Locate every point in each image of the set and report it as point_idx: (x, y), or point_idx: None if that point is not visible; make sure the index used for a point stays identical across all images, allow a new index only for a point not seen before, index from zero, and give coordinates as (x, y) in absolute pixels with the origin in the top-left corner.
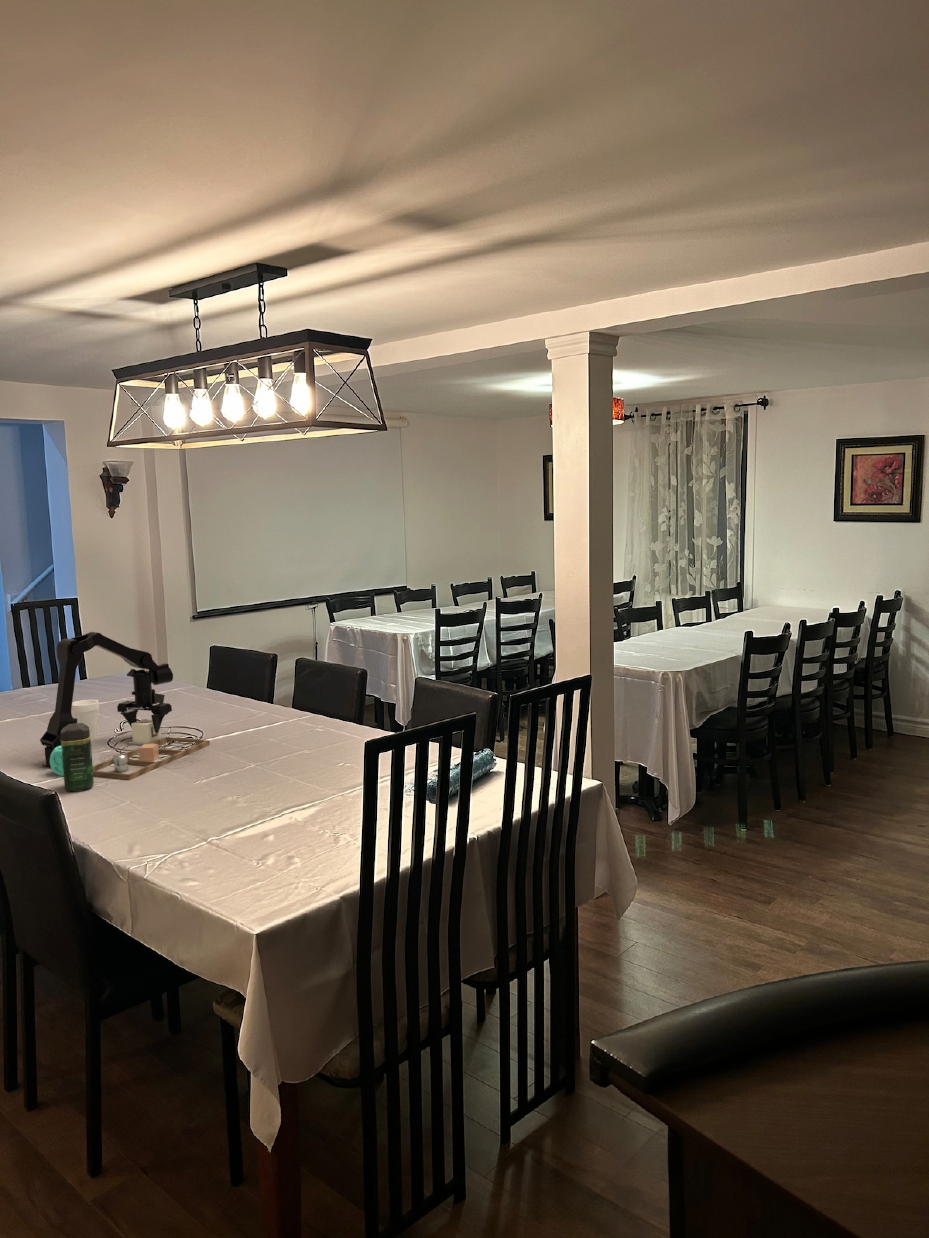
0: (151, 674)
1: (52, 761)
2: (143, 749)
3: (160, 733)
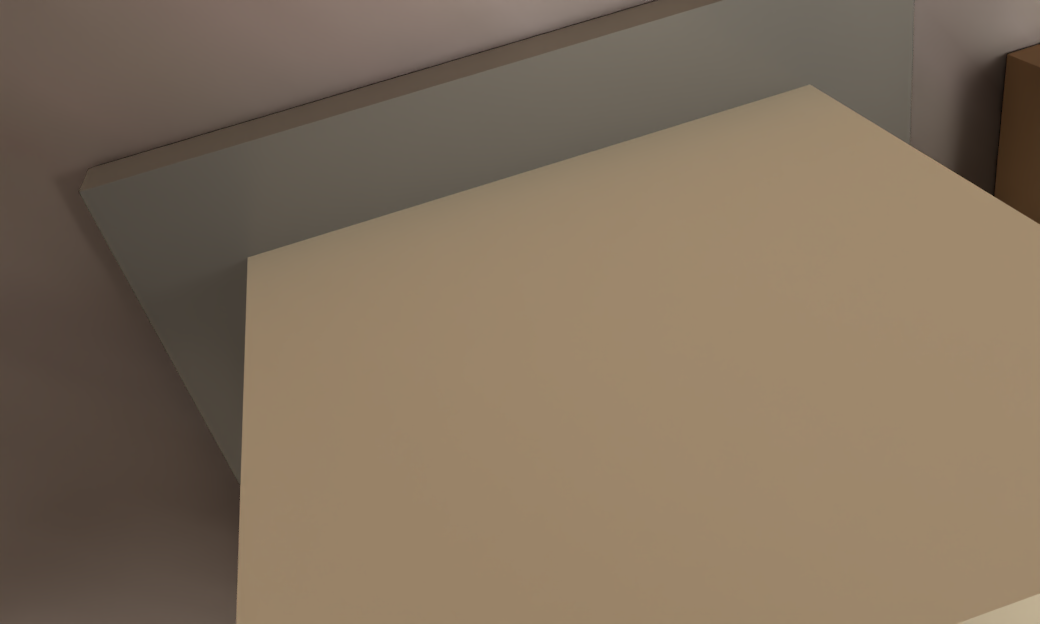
0: None
1: None
2: None
3: (901, 143)
